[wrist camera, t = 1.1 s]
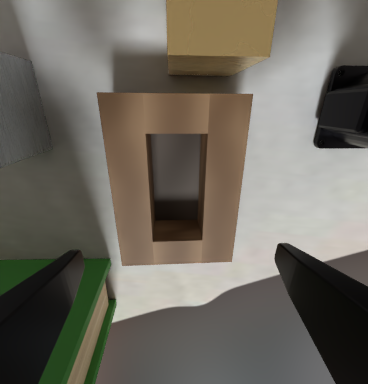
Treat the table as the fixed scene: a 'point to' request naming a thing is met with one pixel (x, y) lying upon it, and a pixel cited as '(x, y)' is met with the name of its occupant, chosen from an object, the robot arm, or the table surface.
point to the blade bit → (20, 112)
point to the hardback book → (73, 321)
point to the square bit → (218, 35)
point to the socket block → (175, 173)
